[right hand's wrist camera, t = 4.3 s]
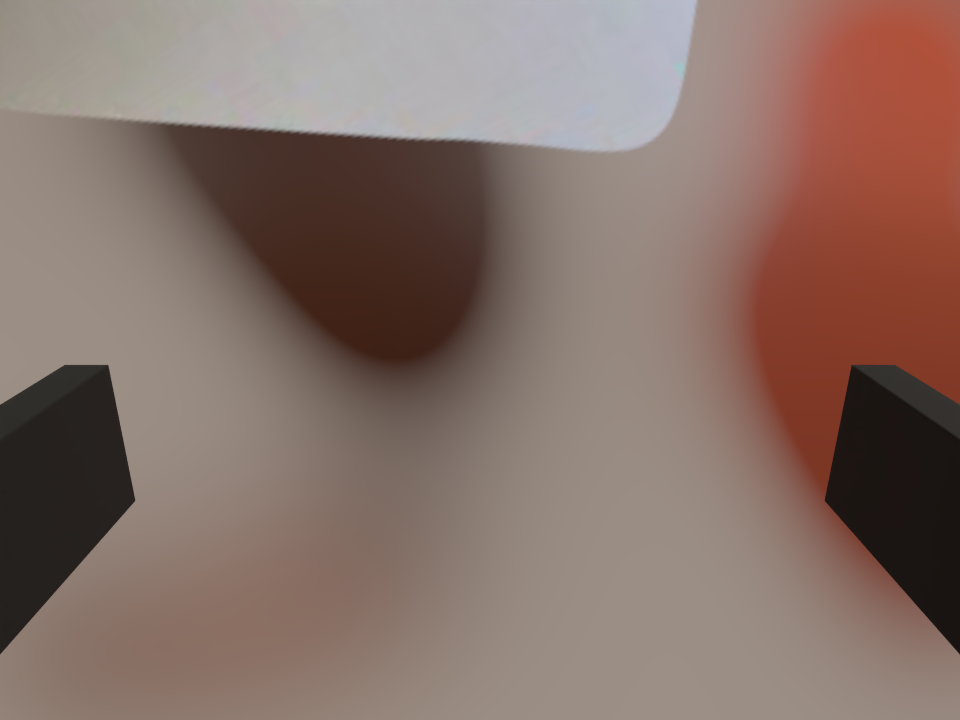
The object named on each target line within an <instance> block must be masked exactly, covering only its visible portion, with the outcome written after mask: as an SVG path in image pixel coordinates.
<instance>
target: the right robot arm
mask: <svg viewBox="0 0 960 720" xmlns="http://www.w3.org/2000/svg"><path fill="white" fill-rule="evenodd" d="M134 502H135V497H134V492H133V487H132V482H131V477H130V472H129V467H128V462H127V457H126V452H125V447H124V442H123V437H122V432H121V427H120V422H119V417H118V412H117V407H116V402H115V397H114V392H113V387H112V382H111V377H110V372H109V367H108V365H64V366H62V367H61V368H59V369H58V370H56V371H54V372H53V373H51V374H50V375H48V376H46V377H45V378H43V379H41V380H40V381H38V382H37V383H35V384H33V385H32V386H30V387H28V388H27V389H25V390H24V391H22V392H20V393H19V394H17V395H16V396H14V397H12V398H11V399H9V400H7V401H6V402H4V403H3V404H1V405H0V654H1V653H2V652H3V650H4V649H5V648H6V647H7V646H8V645H9V644H10V643H11V641H12V640H13V639H14V638H15V637H16V636H17V635H18V633H19V632H20V631H21V630H22V629H23V628H24V627H25V625H26V624H27V623H28V622H29V621H30V620H31V619H32V617H33V616H34V615H35V614H36V613H37V612H38V611H39V610H40V608H41V607H42V606H43V605H44V604H45V603H46V602H47V600H48V599H49V598H50V597H51V596H52V595H53V594H54V592H55V591H56V590H57V589H58V588H59V587H60V586H61V585H62V583H63V582H64V581H65V580H66V579H67V578H68V576H69V575H70V574H71V573H72V572H73V571H74V570H75V569H76V567H77V566H78V565H79V564H80V563H81V562H82V561H83V559H84V558H85V557H86V556H87V555H88V554H89V553H90V551H91V550H92V549H93V548H94V547H95V546H96V545H97V544H98V542H99V541H100V540H101V539H102V538H103V537H104V536H105V535H106V533H107V532H108V531H109V530H110V529H111V528H112V527H113V525H114V524H115V523H116V522H117V521H118V520H119V519H120V517H121V516H122V515H123V514H124V513H125V512H126V511H127V509H128V508H129V507H130V506H131V505H132V504H133V503H134ZM825 502H826V503H827V504H828V505H829V506H830V507H831V508H832V509H833V511H834V512H835V513H836V514H837V515H838V516H839V517H840V519H841V520H842V521H843V522H844V523H845V524H846V525H847V527H848V528H849V529H850V530H851V531H852V532H853V533H854V534H855V536H856V537H857V538H858V539H859V540H860V541H861V542H862V544H863V545H864V546H865V547H866V548H867V549H868V550H869V552H870V553H871V554H872V555H873V556H874V557H875V558H876V560H877V561H878V562H879V563H880V564H881V565H882V566H883V567H884V569H885V570H886V571H887V572H888V573H889V574H890V575H891V577H892V578H893V579H894V580H895V581H896V582H897V583H898V585H899V586H900V587H901V588H902V589H903V590H904V591H905V592H906V594H907V595H908V596H909V597H910V598H911V599H912V600H913V602H914V603H915V604H916V605H917V606H918V607H919V608H920V610H921V611H922V612H923V613H924V614H925V615H926V616H927V617H928V619H929V620H930V621H931V622H932V623H933V624H934V625H935V627H936V628H937V629H938V630H939V631H940V632H941V633H942V635H943V636H944V637H945V638H946V639H947V640H948V641H949V643H950V644H951V645H952V646H953V647H954V648H955V649H956V650H957V652H958V653H959V654H960V405H959V404H957V403H956V402H954V401H953V400H951V399H949V398H948V397H946V396H944V395H943V394H941V393H940V392H938V391H936V390H935V389H933V388H931V387H930V386H928V385H927V384H925V383H923V382H922V381H920V380H919V379H917V378H915V377H914V376H912V375H910V374H909V373H907V372H906V371H904V370H902V369H901V368H899V367H897V366H896V365H852V367H851V372H850V377H849V382H848V387H847V392H846V397H845V402H844V407H843V412H842V417H841V422H840V427H839V432H838V437H837V442H836V447H835V452H834V457H833V462H832V467H831V472H830V477H829V482H828V487H827V492H826V497H825Z"/></svg>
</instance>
